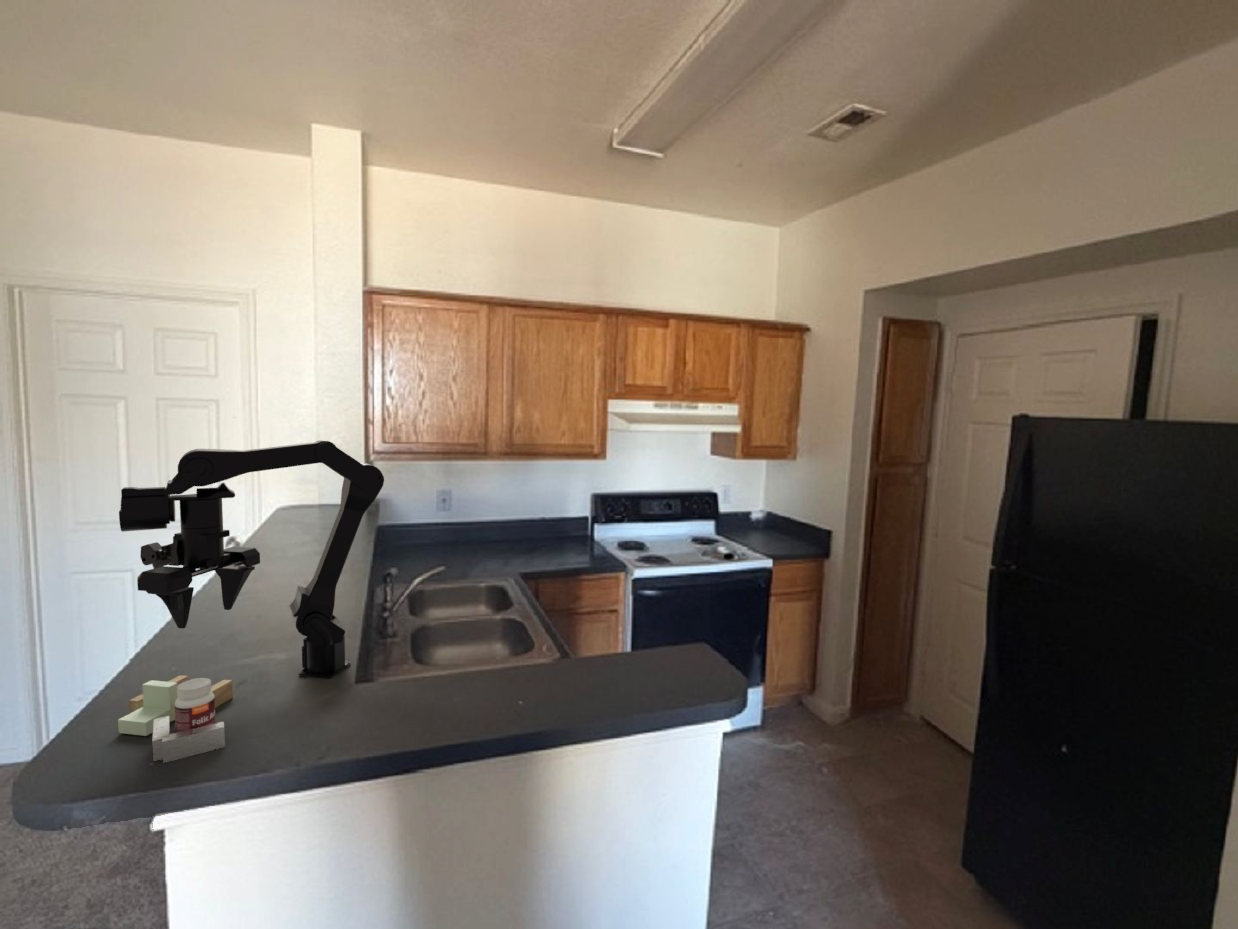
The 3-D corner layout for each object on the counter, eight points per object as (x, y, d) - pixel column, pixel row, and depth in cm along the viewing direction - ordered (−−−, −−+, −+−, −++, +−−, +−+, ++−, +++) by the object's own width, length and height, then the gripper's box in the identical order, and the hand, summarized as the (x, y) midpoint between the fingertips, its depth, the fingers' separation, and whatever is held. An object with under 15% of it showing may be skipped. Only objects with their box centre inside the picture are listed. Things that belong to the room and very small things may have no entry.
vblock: (232, 742, 87) (231, 722, 86) (195, 767, 81) (194, 745, 80) (162, 734, 88) (161, 715, 88) (121, 758, 82) (120, 737, 82)
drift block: (179, 717, 93) (177, 682, 92) (146, 736, 87) (144, 699, 87) (153, 714, 93) (151, 680, 93) (118, 732, 88) (116, 696, 88)
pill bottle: (196, 750, 85) (194, 692, 84) (167, 746, 85) (164, 689, 85) (224, 732, 89) (222, 678, 89) (196, 729, 90) (194, 675, 89)
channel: (232, 697, 100) (232, 680, 100) (186, 725, 91) (185, 706, 91) (180, 692, 101) (180, 675, 101) (130, 719, 92) (129, 700, 92)
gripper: (205, 514, 109) (209, 598, 110) (103, 534, 91) (108, 635, 92) (261, 517, 107) (263, 602, 109) (168, 538, 89) (172, 640, 90)
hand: (205, 618), depth 100 cm, fingers open, 9 cm apart
